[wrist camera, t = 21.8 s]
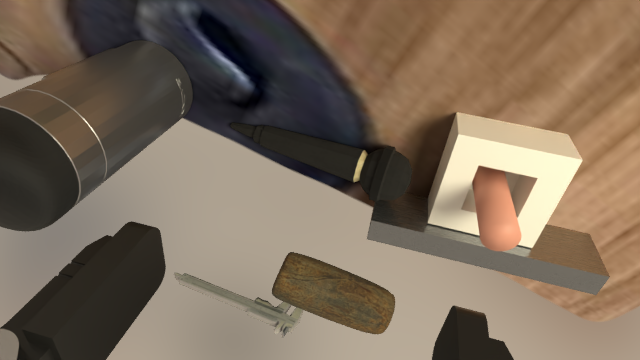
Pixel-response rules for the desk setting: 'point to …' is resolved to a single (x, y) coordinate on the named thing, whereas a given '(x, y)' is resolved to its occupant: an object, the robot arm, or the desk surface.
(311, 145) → the microphone
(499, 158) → the socket block
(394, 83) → the desk surface
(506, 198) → the dowel
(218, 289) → the caliper
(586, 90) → the desk surface
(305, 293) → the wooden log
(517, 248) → the backstop
